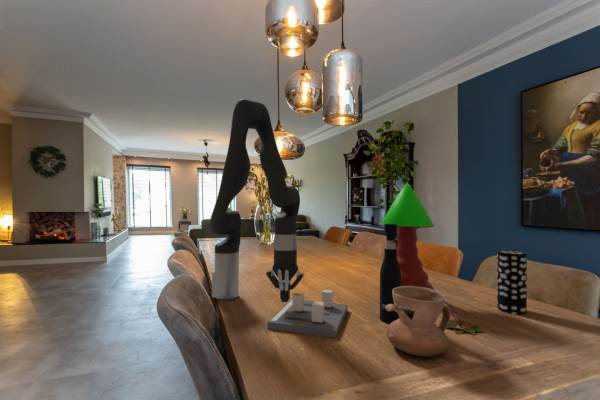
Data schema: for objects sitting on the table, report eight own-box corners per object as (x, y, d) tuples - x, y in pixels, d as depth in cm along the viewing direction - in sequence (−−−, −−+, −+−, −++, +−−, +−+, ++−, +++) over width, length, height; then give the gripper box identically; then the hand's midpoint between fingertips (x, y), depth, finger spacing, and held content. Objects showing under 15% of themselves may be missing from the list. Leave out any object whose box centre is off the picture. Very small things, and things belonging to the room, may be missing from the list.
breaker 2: (321, 306, 99) (322, 291, 99) (323, 303, 102) (323, 289, 102) (330, 307, 98) (331, 292, 98) (332, 304, 101) (332, 290, 101)
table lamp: (370, 297, 118) (370, 182, 118) (397, 288, 131) (398, 184, 131) (418, 310, 103) (418, 179, 103) (443, 299, 116) (444, 182, 116)
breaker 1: (311, 321, 86) (312, 304, 87) (314, 317, 89) (314, 301, 89) (322, 322, 86) (322, 305, 86) (324, 318, 88) (324, 302, 89)
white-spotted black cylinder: (523, 308, 106) (523, 251, 106) (529, 316, 98) (529, 255, 99) (495, 304, 109) (495, 249, 110) (499, 312, 102) (499, 253, 102)
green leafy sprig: (464, 319, 96) (464, 305, 96) (494, 336, 84) (494, 320, 84) (430, 322, 94) (430, 307, 94) (456, 339, 83) (456, 322, 83)
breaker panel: (267, 328, 87) (267, 321, 87) (291, 304, 108) (291, 298, 108) (335, 338, 81) (335, 330, 81) (347, 310, 102) (347, 304, 102)
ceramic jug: (399, 366, 67) (401, 303, 68) (372, 337, 82) (374, 284, 82) (470, 361, 71) (472, 300, 71) (432, 334, 85) (434, 283, 85)
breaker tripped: (292, 310, 95) (292, 294, 95) (295, 307, 98) (295, 291, 98) (301, 311, 94) (301, 294, 94) (304, 308, 97) (304, 292, 97)
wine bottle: (401, 317, 97) (401, 223, 97) (400, 325, 90) (401, 225, 91) (380, 315, 99) (380, 223, 99) (378, 322, 93) (379, 224, 93)
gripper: (261, 248, 96) (261, 303, 96) (301, 250, 92) (301, 307, 92) (270, 245, 103) (270, 296, 103) (308, 247, 99) (307, 300, 99)
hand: (285, 301), depth 97 cm, fingers closed
